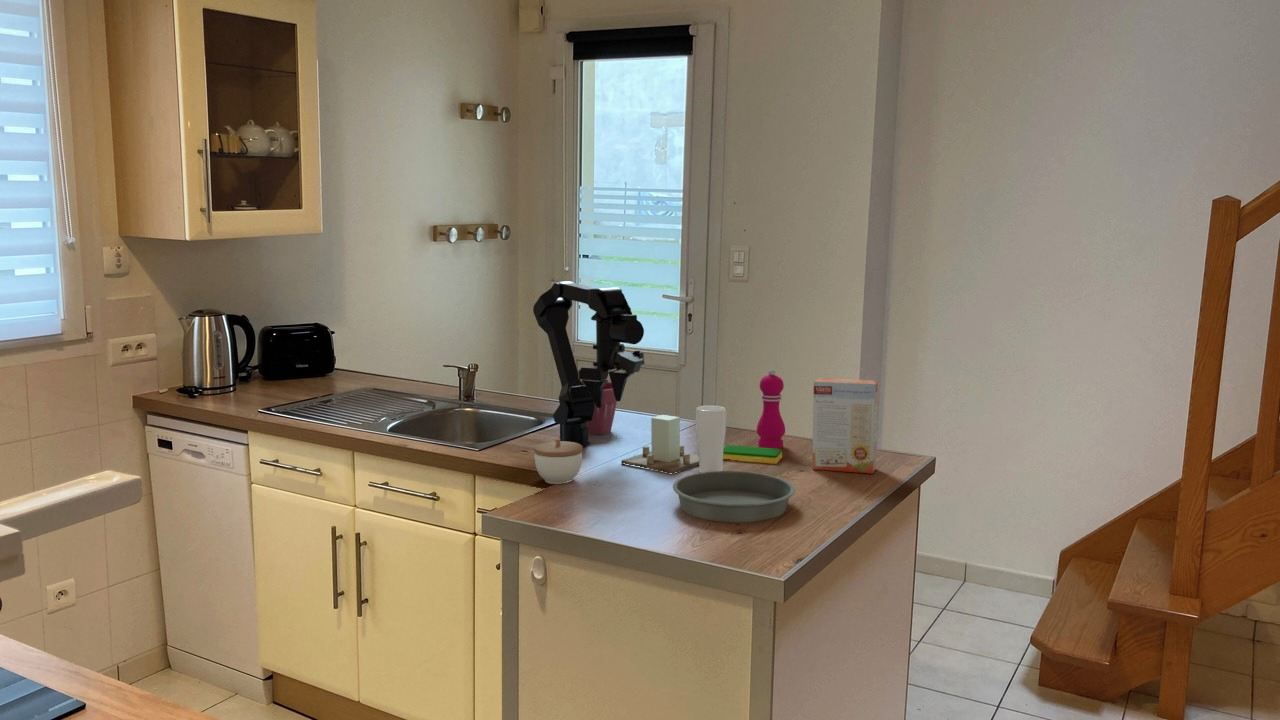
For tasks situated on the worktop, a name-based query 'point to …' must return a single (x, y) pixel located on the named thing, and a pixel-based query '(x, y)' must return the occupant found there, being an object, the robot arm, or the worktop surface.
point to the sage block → (665, 438)
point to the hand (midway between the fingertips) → (608, 404)
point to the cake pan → (733, 495)
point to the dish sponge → (752, 454)
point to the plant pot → (603, 413)
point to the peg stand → (669, 467)
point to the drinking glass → (710, 437)
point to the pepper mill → (771, 412)
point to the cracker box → (845, 425)
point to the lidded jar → (558, 460)
